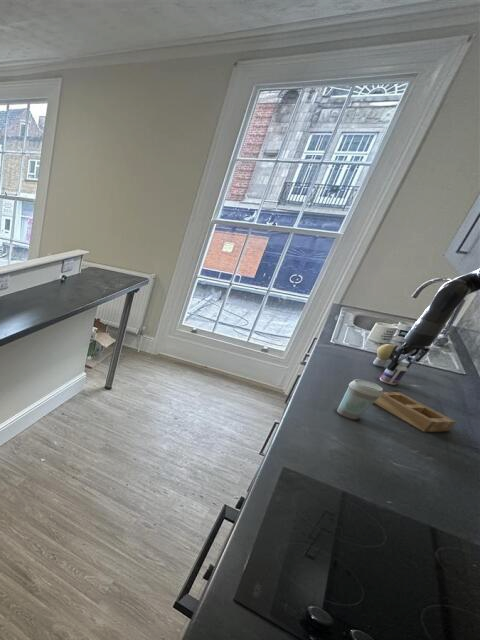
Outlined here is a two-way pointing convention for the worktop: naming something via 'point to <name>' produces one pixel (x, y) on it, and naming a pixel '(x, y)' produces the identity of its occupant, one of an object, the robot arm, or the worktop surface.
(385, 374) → the pill bottle
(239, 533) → the worktop surface
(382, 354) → the light bulb
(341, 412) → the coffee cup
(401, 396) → the tray
